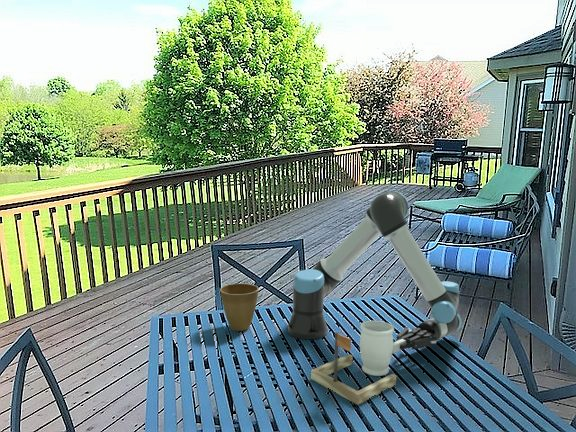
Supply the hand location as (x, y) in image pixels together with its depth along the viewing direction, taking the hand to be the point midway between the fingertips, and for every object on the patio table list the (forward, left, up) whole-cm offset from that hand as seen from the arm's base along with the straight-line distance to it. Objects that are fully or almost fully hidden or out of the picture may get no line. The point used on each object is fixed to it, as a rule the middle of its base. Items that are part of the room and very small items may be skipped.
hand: (391, 348), depth 152 cm
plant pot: (-62, +3, -7) cm, 62 cm away
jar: (-4, -4, -7) cm, 9 cm away
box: (-7, -14, -7) cm, 17 cm away
